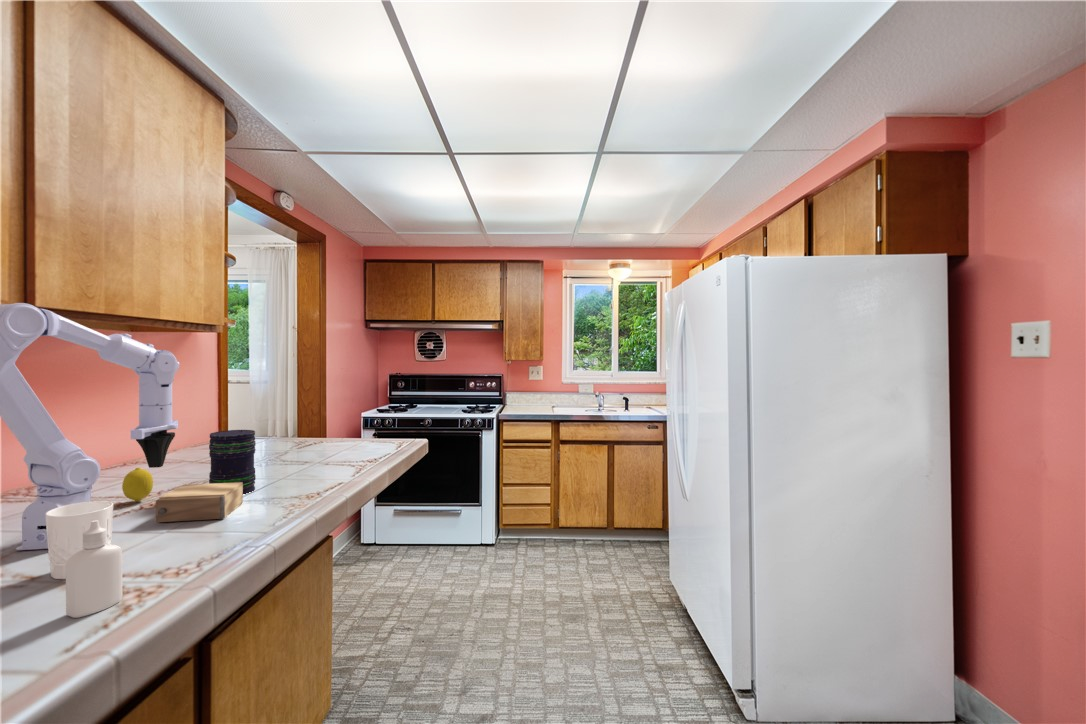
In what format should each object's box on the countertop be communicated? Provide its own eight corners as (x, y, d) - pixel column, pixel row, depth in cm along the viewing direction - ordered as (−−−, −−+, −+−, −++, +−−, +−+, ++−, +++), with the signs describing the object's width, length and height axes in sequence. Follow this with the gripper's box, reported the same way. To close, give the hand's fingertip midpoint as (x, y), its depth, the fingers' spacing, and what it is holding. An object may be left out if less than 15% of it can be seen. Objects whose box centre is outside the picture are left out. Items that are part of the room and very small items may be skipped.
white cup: (122, 557, 83) (122, 498, 83) (99, 577, 76) (99, 513, 75) (62, 563, 80) (62, 503, 80) (33, 585, 73) (33, 518, 73)
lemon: (159, 498, 116) (159, 465, 116) (137, 506, 110) (137, 471, 110) (138, 498, 116) (138, 464, 116) (115, 505, 111) (115, 470, 111)
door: (221, 520, 101) (222, 498, 101) (153, 524, 98) (153, 501, 98) (225, 517, 103) (225, 495, 103) (158, 521, 100) (158, 498, 100)
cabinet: (224, 517, 103) (224, 494, 103) (159, 521, 100) (159, 497, 100) (242, 503, 113) (242, 482, 113) (183, 506, 110) (183, 484, 110)
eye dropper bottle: (68, 608, 66) (68, 520, 66) (123, 595, 70) (123, 512, 70) (63, 622, 63) (63, 530, 63) (121, 608, 66) (121, 521, 66)
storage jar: (234, 498, 116) (234, 436, 116) (198, 496, 118) (198, 435, 118) (264, 487, 126) (264, 430, 126) (231, 485, 128) (231, 429, 128)
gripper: (158, 408, 100) (158, 474, 100) (192, 401, 114) (192, 459, 114) (118, 408, 98) (118, 475, 98) (158, 401, 112) (158, 460, 113)
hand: (156, 466), depth 106 cm, fingers closed
